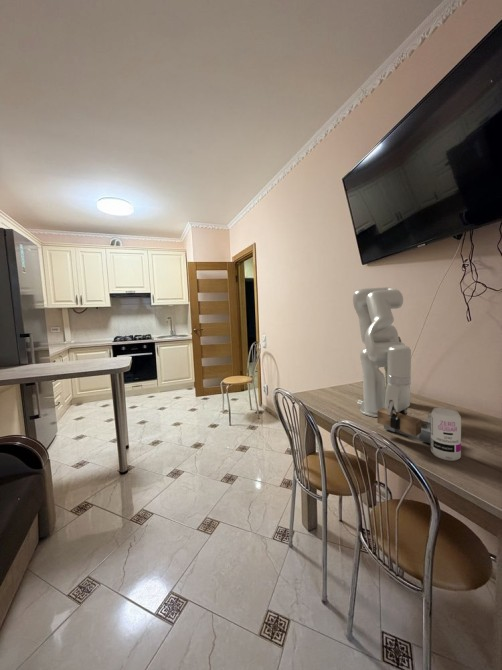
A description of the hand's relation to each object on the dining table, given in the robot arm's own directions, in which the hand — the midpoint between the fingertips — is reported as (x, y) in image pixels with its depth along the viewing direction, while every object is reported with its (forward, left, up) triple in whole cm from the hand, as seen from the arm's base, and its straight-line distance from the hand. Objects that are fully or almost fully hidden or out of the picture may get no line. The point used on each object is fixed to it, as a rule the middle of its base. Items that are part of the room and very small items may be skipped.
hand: (398, 425), depth 101 cm
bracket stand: (+1, +8, -6) cm, 10 cm away
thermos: (-22, +39, -6) cm, 45 cm away
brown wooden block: (0, 0, -1) cm, 1 cm away
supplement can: (+15, +1, -6) cm, 16 cm away
